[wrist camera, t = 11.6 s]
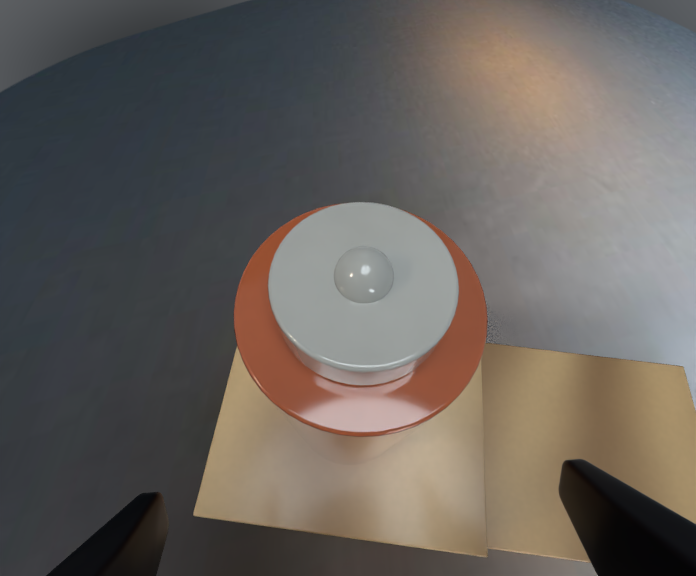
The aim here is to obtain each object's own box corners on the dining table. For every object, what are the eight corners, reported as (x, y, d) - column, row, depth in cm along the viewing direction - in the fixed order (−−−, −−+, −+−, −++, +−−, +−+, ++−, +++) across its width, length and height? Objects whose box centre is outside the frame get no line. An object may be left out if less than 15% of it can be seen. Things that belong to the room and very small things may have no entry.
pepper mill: (380, 485, 16) (474, 491, 5) (275, 435, 17) (139, 334, 5) (418, 378, 18) (549, 199, 7) (323, 337, 19) (298, 117, 7)
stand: (670, 370, 23) (741, 346, 19) (724, 579, 18) (832, 606, 14) (266, 322, 24) (251, 289, 20) (223, 509, 19) (192, 516, 15)
